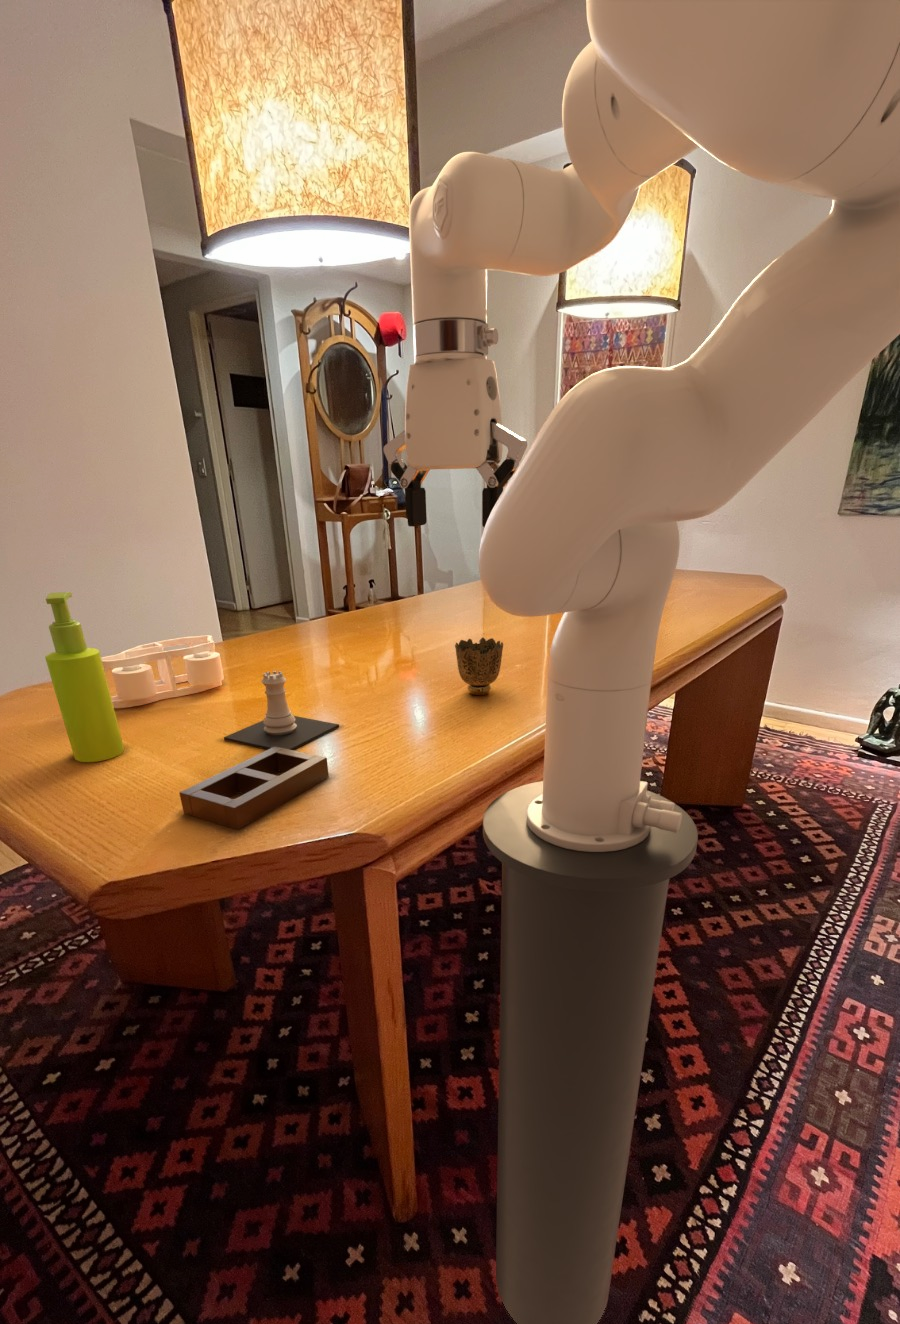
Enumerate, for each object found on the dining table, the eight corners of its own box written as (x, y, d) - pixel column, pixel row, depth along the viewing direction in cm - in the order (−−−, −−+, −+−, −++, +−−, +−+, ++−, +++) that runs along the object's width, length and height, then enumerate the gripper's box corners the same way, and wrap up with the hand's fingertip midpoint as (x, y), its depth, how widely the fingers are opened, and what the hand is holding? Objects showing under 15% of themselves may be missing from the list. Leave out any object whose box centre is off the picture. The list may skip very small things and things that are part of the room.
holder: (329, 777, 79) (326, 757, 78) (238, 830, 68) (234, 808, 67) (277, 765, 83) (274, 746, 82) (183, 813, 71) (178, 792, 70)
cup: (458, 701, 104) (457, 649, 100) (453, 687, 110) (452, 638, 107) (505, 699, 104) (506, 647, 101) (499, 685, 111) (499, 636, 107)
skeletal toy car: (116, 715, 101) (104, 667, 98) (94, 698, 109) (83, 653, 105) (240, 687, 113) (233, 643, 109) (213, 674, 120) (206, 633, 117)
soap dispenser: (126, 740, 92) (88, 587, 83) (122, 758, 86) (80, 596, 77) (79, 745, 90) (35, 591, 81) (71, 765, 84) (22, 600, 75)
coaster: (339, 727, 94) (339, 724, 94) (286, 753, 86) (285, 750, 86) (280, 715, 99) (279, 713, 99) (224, 740, 91) (223, 737, 91)
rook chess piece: (289, 722, 95) (281, 667, 92) (302, 731, 92) (295, 673, 88) (259, 729, 93) (250, 672, 89) (271, 738, 90) (263, 680, 86)
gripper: (542, 343, 68) (536, 525, 76) (399, 359, 76) (407, 522, 84) (511, 333, 62) (508, 530, 70) (360, 351, 70) (372, 527, 78)
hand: (453, 526), depth 77 cm, fingers open, 9 cm apart
